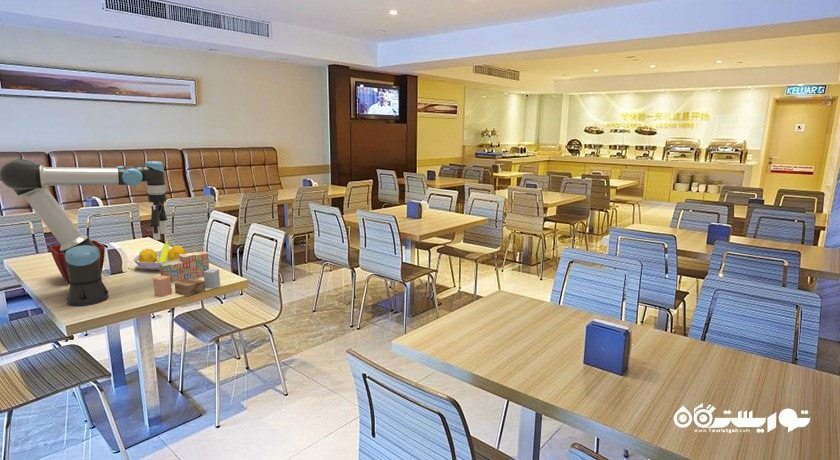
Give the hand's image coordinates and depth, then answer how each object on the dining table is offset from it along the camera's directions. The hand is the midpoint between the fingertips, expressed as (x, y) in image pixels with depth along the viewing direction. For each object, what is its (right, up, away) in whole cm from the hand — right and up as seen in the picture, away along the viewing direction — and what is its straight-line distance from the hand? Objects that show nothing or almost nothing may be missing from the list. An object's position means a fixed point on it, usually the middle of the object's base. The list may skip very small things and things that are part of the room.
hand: (160, 236), depth 230 cm
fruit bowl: (-14, -17, +29) cm, 36 cm away
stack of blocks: (+8, -22, +8) cm, 25 cm away
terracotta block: (+10, -26, -14) cm, 31 cm away
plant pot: (-42, -21, +5) cm, 47 cm away
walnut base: (+20, -26, -11) cm, 34 cm away
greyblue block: (+27, -24, -3) cm, 36 cm away
